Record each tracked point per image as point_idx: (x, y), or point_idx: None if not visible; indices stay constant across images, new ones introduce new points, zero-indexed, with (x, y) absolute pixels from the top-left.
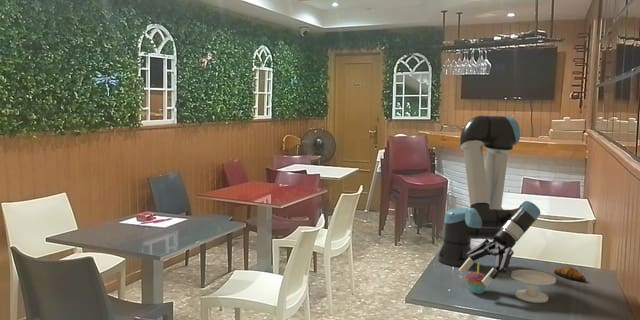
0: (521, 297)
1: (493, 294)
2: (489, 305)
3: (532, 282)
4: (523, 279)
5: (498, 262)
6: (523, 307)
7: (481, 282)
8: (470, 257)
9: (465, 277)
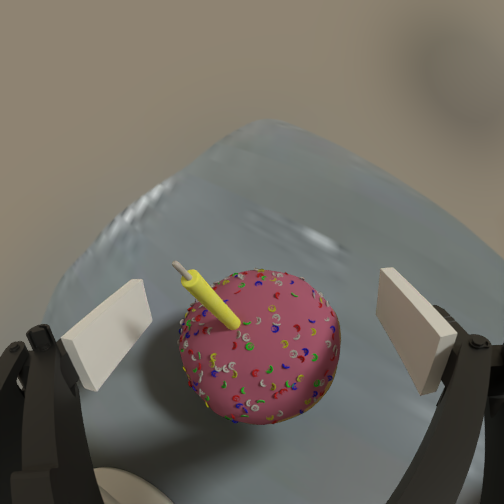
0: (111, 469)
1: (201, 412)
2: (111, 292)
3: None
4: None
5: (27, 380)
6: None
7: (184, 321)
8: (458, 350)
9: (297, 277)
